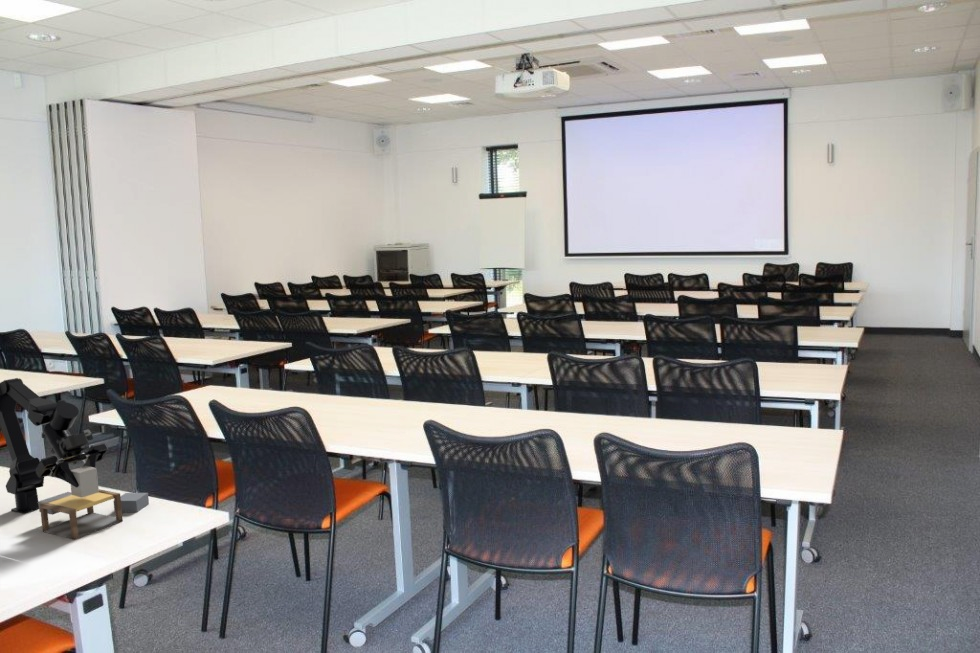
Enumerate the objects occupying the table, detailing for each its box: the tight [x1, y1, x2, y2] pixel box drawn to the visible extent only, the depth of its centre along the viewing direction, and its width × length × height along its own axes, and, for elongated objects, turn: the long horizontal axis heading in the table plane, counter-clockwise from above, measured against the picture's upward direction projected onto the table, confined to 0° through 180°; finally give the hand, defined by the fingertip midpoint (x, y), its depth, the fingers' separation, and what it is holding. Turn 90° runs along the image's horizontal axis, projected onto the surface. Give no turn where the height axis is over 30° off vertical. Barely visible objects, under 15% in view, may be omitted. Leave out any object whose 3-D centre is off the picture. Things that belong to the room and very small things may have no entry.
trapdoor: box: [38, 491, 114, 516], centre depth 233 cm, size 18×12×4 cm, turn 61°
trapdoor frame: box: [40, 488, 124, 540], centre depth 232 cm, size 14×15×8 cm
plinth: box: [113, 492, 150, 513], centre depth 246 cm, size 7×7×4 cm
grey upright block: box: [70, 465, 100, 498], centre depth 230 cm, size 5×5×7 cm
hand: (87, 483), depth 229 cm, fingers closed on grey upright block, 5 cm apart
